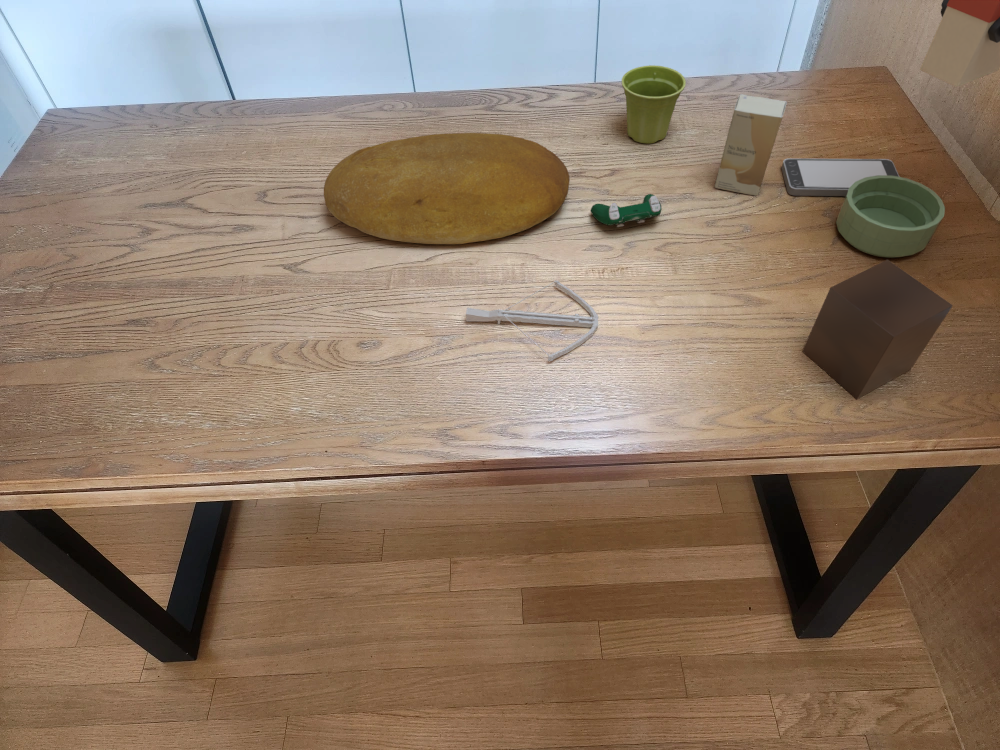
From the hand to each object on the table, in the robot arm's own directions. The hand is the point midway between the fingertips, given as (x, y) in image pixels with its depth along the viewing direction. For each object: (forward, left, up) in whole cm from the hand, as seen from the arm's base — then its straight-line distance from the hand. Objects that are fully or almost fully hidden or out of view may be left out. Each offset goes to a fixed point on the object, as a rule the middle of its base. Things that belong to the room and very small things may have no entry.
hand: (968, 26), depth 64 cm
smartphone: (+12, -8, -28) cm, 31 cm away
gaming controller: (+21, +22, -28) cm, 41 cm away
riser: (-13, +15, -28) cm, 34 cm away
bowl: (+1, -4, -28) cm, 28 cm away
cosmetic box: (+19, +4, -28) cm, 34 cm away
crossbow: (+11, +43, -28) cm, 53 cm away
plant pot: (+37, +7, -28) cm, 47 cm away
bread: (+37, +42, -28) cm, 63 cm away
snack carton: (0, -2, -5) cm, 5 cm away
